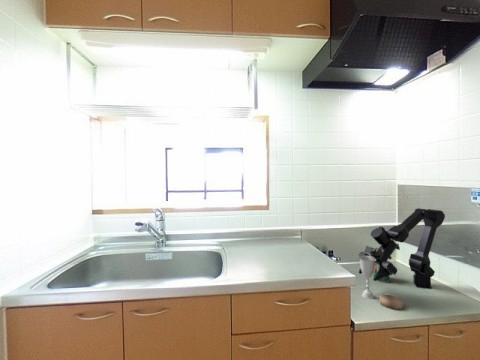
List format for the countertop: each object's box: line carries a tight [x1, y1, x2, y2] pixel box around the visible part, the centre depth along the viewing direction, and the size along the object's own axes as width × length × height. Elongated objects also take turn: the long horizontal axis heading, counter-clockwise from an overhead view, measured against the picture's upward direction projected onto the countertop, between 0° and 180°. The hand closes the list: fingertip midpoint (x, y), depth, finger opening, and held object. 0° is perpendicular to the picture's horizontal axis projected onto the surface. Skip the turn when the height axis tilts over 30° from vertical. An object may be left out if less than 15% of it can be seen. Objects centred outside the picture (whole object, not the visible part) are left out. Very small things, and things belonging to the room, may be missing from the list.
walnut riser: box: [379, 294, 404, 311], centre depth 116 cm, size 9×9×2 cm
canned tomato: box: [372, 258, 391, 284], centre depth 143 cm, size 8×8×11 cm
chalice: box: [358, 255, 375, 300], centre depth 124 cm, size 7×7×18 cm
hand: (366, 276), depth 124 cm, fingers open, 9 cm apart
